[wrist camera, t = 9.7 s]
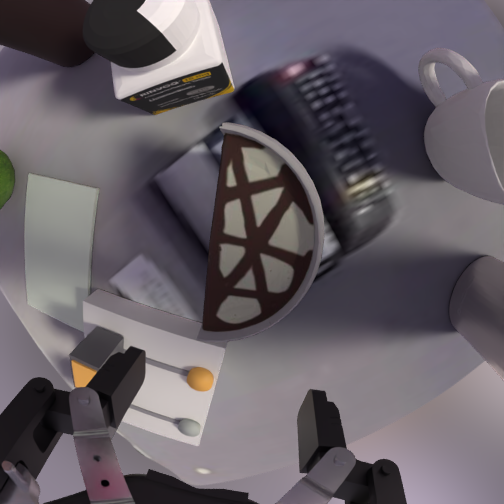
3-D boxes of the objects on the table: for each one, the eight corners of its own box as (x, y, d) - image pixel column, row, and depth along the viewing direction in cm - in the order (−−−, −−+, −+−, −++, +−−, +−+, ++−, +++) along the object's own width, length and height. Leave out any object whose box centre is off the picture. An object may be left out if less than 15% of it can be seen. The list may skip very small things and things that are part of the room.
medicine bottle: (154, 116, 22) (68, 84, 10) (142, 49, 20) (69, -8, 8) (235, 92, 21) (205, 25, 9) (218, 24, 19) (184, -60, 7)
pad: (99, 188, 23) (96, 188, 23) (90, 332, 28) (88, 334, 27) (31, 173, 23) (28, 173, 23) (30, 303, 28) (27, 304, 27)
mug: (492, 163, 20) (562, 171, 11) (441, 210, 22) (513, 235, 13) (430, 52, 18) (490, 17, 8) (368, 89, 20) (423, 48, 10)
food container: (290, 293, 25) (302, 363, 16) (221, 282, 25) (195, 347, 16) (317, 150, 22) (352, 137, 12) (240, 138, 22) (221, 115, 12)
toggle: (123, 336, 24) (98, 369, 19) (123, 368, 25) (101, 401, 20) (96, 326, 24) (68, 355, 19) (97, 357, 25) (73, 388, 20)
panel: (229, 330, 27) (224, 354, 23) (202, 428, 31) (197, 451, 27) (98, 288, 26) (78, 304, 23) (101, 393, 31) (89, 411, 27)
